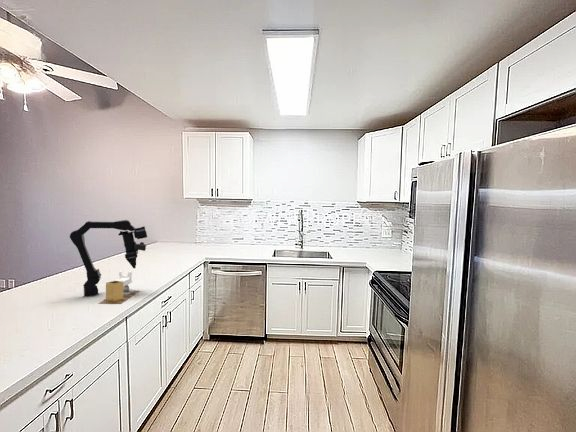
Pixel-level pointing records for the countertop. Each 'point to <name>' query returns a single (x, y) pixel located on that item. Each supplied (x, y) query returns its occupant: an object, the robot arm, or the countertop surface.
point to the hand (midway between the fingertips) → (134, 266)
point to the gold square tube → (114, 291)
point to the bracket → (125, 278)
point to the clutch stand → (126, 296)
